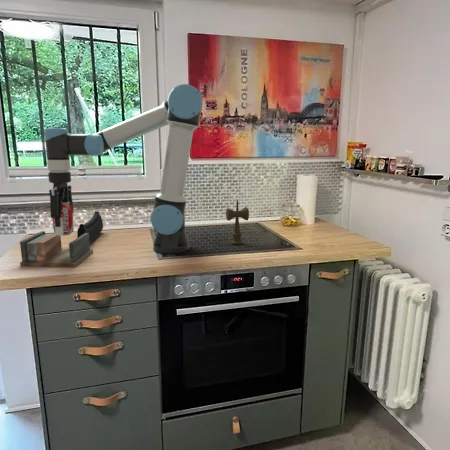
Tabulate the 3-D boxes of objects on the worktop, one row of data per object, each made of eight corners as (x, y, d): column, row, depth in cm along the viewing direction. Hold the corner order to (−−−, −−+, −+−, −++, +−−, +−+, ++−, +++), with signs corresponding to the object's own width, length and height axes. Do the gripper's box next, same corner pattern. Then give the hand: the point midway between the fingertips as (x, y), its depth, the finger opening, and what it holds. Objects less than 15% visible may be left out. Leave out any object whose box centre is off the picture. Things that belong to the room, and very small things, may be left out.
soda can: (78, 232, 145) (76, 201, 142) (64, 236, 138) (62, 204, 136) (63, 230, 147) (60, 200, 144) (49, 235, 140) (46, 203, 138)
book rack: (93, 252, 154) (91, 231, 152) (75, 267, 136) (73, 243, 134) (44, 252, 154) (41, 230, 152) (20, 266, 136) (17, 242, 134)
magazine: (82, 230, 152) (99, 197, 179) (73, 230, 152) (92, 197, 179) (88, 266, 161) (104, 229, 188) (80, 266, 161) (97, 229, 187)
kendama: (249, 245, 168) (250, 200, 163) (228, 246, 165) (228, 201, 161) (244, 241, 173) (245, 198, 169) (224, 242, 171) (225, 199, 166)
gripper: (60, 169, 147) (65, 226, 152) (35, 173, 128) (41, 239, 133) (80, 169, 147) (83, 226, 152) (57, 173, 128) (62, 239, 133)
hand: (64, 232), depth 143 cm, fingers closed on soda can, 7 cm apart
